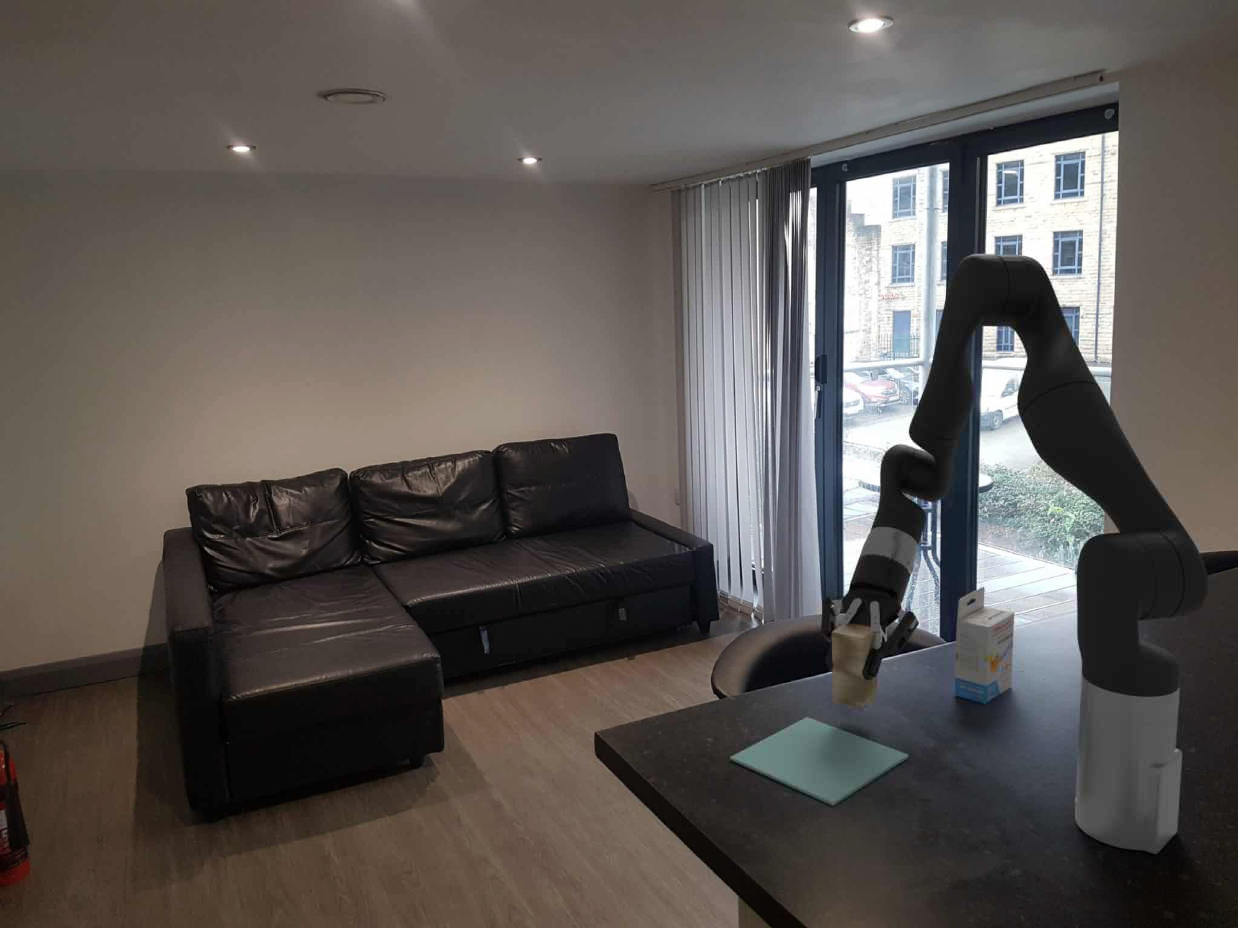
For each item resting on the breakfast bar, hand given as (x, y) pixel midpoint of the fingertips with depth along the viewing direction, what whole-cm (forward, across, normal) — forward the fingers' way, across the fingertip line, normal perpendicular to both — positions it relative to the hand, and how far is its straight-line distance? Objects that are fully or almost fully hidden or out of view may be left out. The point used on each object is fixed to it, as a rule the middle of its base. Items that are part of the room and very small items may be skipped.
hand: (849, 673), depth 129 cm
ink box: (-9, +11, +21) cm, 25 cm away
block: (+2, 0, +4) cm, 5 cm away
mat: (+13, +1, -2) cm, 13 cm away
